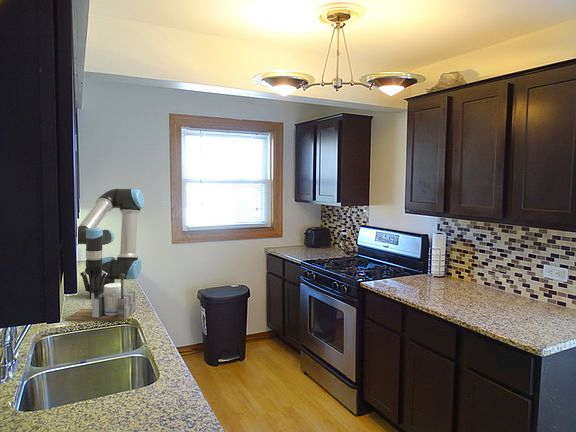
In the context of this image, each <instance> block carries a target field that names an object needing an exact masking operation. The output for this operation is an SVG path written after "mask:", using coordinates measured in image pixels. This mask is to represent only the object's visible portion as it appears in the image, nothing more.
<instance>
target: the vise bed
mask: <svg viewBox="0 0 576 432" xmlns="http://www.w3.org/2000/svg"><path fill="white" fill-rule="evenodd" d="M119 278H120V279H119V280H120V283H121V298H119V299H118V315H116V316H107V315H105V314H103V315H101V316H100V317H92V308H80V309H78V310H77V311H76V312H74V313H72V314H70V315H69V316H67V317H66V318H65V322H89V321H90V322H98V321H99V322H100V321H101V322H107V321H108V322H115V321H116V322H124V321H126V320H127V319H128V318H129V317H130V316H131V314H132V315H133V314H134V313H135V312H136V291H128V292H126V293H125V284H124V283H125V282H124V281H125V280H124V278H125V274H123V273H122V274H120V275H119Z"/></svg>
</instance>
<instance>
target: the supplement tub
mask: <svg viewBox="0 0 576 432" xmlns="http://www.w3.org/2000/svg"><path fill="white" fill-rule="evenodd" d="M119 298H121V282H115V283H110V284H106V285H104V314H105V315H107V316H116V315H118V299H119Z"/></svg>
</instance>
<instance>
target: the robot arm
mask: <svg viewBox="0 0 576 432" xmlns="http://www.w3.org/2000/svg"><path fill="white" fill-rule="evenodd" d="M144 207H145V195H144V194H143V192H142V191H141V190H140V189H139V188H111V189H110V190H107V191H106V192H104V193H103V194H101V195H99V197H98V198H97V200H95V205H94V206H93V208H92V209H91V210H90V211H89V213H88V214H87V215H86V216H85V218H84V219H83V220H82V221H81V223H80V224H79V225H78V226H77V228H78V244H77V245H85V259H86V260H85V268H84V271H82V272H80V274H79V275H80V276H81V277H82V281H83V286H84V290H85V292H87V293H89V299H90V300H91V303H90V305H91V307H92V299H93V298H95V297H97V296H98V295H100V294H102V293H103V292H104V285H106V284H110V283H116V281H115V280H121V279H120V278H119V275H120V274H122V273H123V274H125V278H124V281H125V280H127V281H129V280H131V281H132V280H136V279H137V278H138V277H140V273H141V270H142V262H141V260H140V259H139V257H138V255H137V254H136V250H137V231H138V230H137V229H138V215H139V213H141V209H143V208H144ZM113 209H119V212H120V213H121V229H120V231H121V232H120V251H119V254H118V255H117V256H116V258H115V256H107V257H103V246H104V245H109V244H111V243H112V242H113V241H114V240H115V233H114V232H113V231H112V230H111V229H103V228H102V227H98V226H99V224H100V223H101V222H102V220H103V219H104V217H105V216H106V215H107V213H108V212H111V211H112V210H113Z"/></svg>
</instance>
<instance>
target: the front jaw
mask: <svg viewBox="0 0 576 432" xmlns="http://www.w3.org/2000/svg"><path fill="white" fill-rule="evenodd" d="M91 309H92V317H100V316H101V315H103V314H104V292H103V293H102V294H100V295H98V296H97V297H95V298H93V299H92V306H91Z"/></svg>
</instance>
